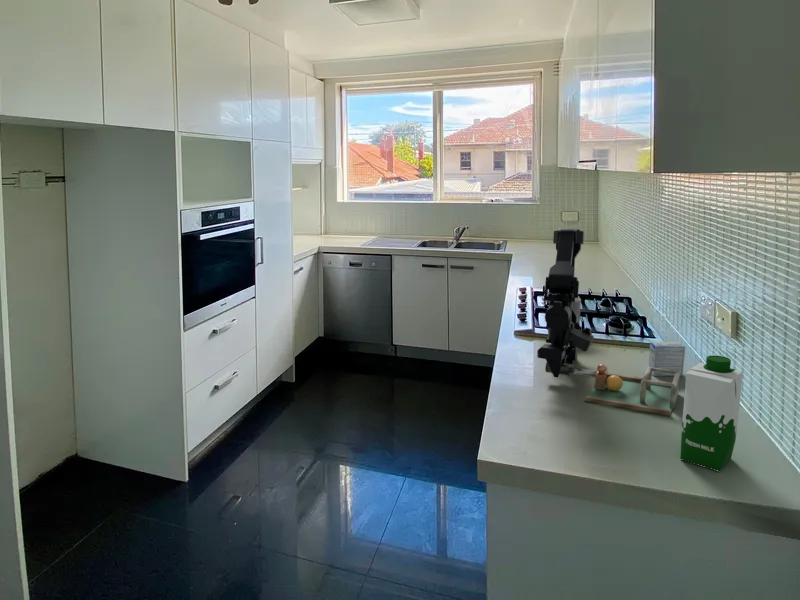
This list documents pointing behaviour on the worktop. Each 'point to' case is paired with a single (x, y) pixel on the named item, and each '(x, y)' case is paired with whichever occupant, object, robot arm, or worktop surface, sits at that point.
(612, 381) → the ball
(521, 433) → the worktop surface
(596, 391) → the pitch
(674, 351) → the medicine box
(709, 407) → the milk carton
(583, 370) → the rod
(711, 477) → the worktop surface
